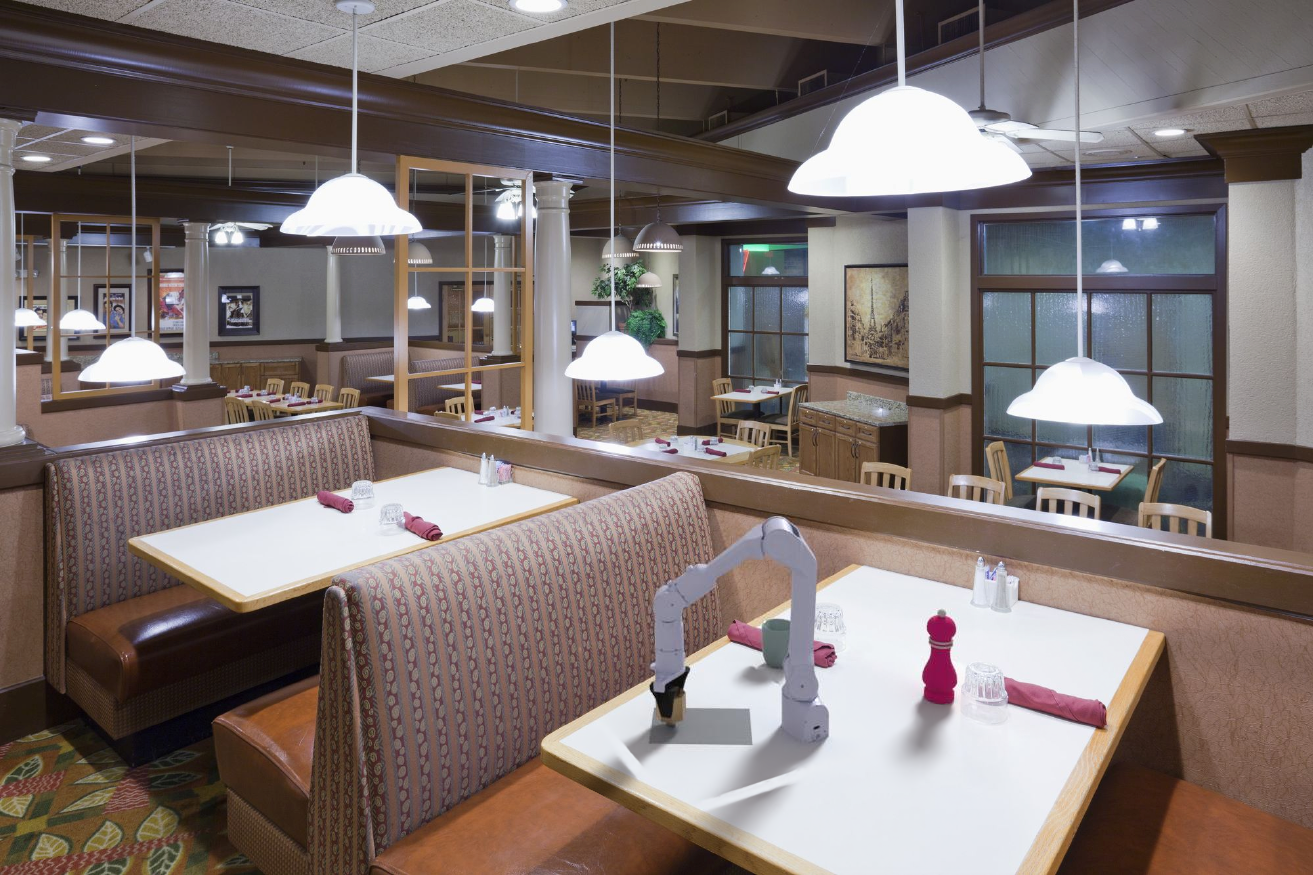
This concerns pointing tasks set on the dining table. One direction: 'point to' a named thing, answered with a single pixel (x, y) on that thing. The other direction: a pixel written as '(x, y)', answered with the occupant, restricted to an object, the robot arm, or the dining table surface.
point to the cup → (775, 641)
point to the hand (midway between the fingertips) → (671, 709)
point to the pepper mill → (940, 660)
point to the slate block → (705, 727)
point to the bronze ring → (675, 708)
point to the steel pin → (671, 725)
